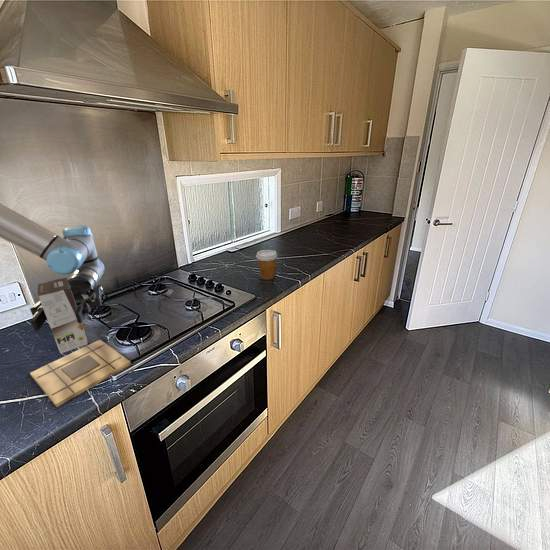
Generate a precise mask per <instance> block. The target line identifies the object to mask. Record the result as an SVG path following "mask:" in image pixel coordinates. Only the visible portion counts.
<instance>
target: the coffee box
mask: <svg viewBox="0 0 550 550" xmlns="http://www.w3.org/2000/svg"><path fill="white" fill-rule="evenodd" d="M37 297H38V299H39V301H40V302H41V304H42V307H43V310H44V312H45V315H46V318H47V320H46V321H47V322H48V325H49V328H50V330H51V333H52V336H53V338H54V341H55V344H56V346H57V350H58V352H59V354H64V353H66V352H70V351H72V350H75V349H78V348H82V347H85V346H87V345H89V342H88V337H87V335H86V331H85V327H84V324H83V322H82V323H78V321H77V318H76V316H75V313H76V311H77V309H78V308H79V307H78V306H77V303H76V300H75V299H74V296H73V293H72V291H71V288H70V285H69V282H68V277H63V278H58V279H54V280H49V281H46V282H42V283H38V284H37Z"/></svg>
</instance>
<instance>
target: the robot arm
mask: <svg viewBox="0 0 550 550" xmlns="http://www.w3.org/2000/svg"><path fill="white" fill-rule="evenodd" d="M0 239H2V240H4V241H6V242H8V243H9V244H10V243H11V244H12V245H14V246H17V247H18V248H21V249H22V250H24V251H26V252H28V253H31V254H32V255H34V256H36V257H38V258H40V259H42V260H43V261H45V262H46V265H47V267H49V269H50V270H51V271H52V272H54V273H55V274H59V275H70V274H71V275H70V276H69V277H68V278H67V280H68V282H69V285H70V288H71V291H72V293H73V296H74V299H75V301H81V302H80V304H79V306H78V307H77V308H78V309H77V311H76V313H75V316H76V318H77V321H78V323H82V324H83V321H84V319H85V317H86V315H87V314H90V313H91V311H92V310H93V309H94V307H96V308H100V307H102V295H104V294H105V293H104V292H105V291H104V290H103V289H104V288H103V286H102V284H99V282H100V280H101V279H103V276H104V273H105V265H104V263H103V262H102V261H101V260H100V258H99V255H98V251H97V247H96V244H95V240H94V235H93V233H92V230H91V228H90V226H88V225H72V226H67V227H65V228H63V229H62V236H60V235H58V234H57V233H55V232H53V231H51V230H49V229H47V228H46V227H44V226H42V225H41V224H38V223H37V222H36V221H35V222H34V221H33V220H31V219H29V218H28V217H26V216H24V215H23V214H20V213H18V212H16V210H13V209H11V208H9V207H8V206H6V205H4V204H2V203H0ZM92 295H93V299H92V298H91V296H92ZM29 310H30V313H31V315H32V319H31V320H30V323H31V325H32V327H33V329H34V331H35V332H36V331H37V332H38V331H40V329H41V328H42V326H43V325H44V324H45V322H46V321H48V320H47V318H46V315H45V312H44V310H43V307H42V304H41V302H40V300H38V301H37V302H36V303H34V305H32V306H31V307H30V308H29Z"/></svg>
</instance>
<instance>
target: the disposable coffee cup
mask: <svg viewBox="0 0 550 550" xmlns="http://www.w3.org/2000/svg"><path fill="white" fill-rule="evenodd" d="M278 256H279V255H278V253H277V251H276V250H272V249H262V250H259V251H257V252H256V255H255V258H256V259H257V264H258V270H259V276H260V278H261V279H262V280H272V279H274V278H275V276H276V268H277V258H278Z"/></svg>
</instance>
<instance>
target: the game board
mask: <svg viewBox="0 0 550 550" xmlns="http://www.w3.org/2000/svg"><path fill="white" fill-rule="evenodd" d="M130 365H132V362H131V360H129V359H128V358H126V357H125V356H123V354H121V353H119V352H118V351H117V350H115V349H114V348H112V346H109V344H108V343H106V342H104V341H103V340H101V339H98V340H96V341H94V342H91V343H90V344H89V343H88V344H87V345H84V346H82V347H80V348H79V349H77V350H74V351H73V352H70V353H69V354H66V355H64V356H62V357H60V358H58V359H56V360H54V361H52V362H49V363H48V364H45V365H44V366H41V367H39V368H37V369H35V370H33V371H31V372H29V375H30V376H31V378H32V379H33V380H34V382H35V383H36V384H37V385H38V387H40V389H41V390H42V391H43V392H44V394H45V395H46V396H47V397H48V398H49V400H50V401H51V402H52V403H53V405H54V406H55V407H56V408H58V407H60V406H61V405H63V404H65V403H67V402H69V401H70V400H71V399H74V398H75V397H77V396H78V395H80V394H82V393H84V392H85V391H87V390H89V389H91V388H93V387H94V386H96V385H97V384H100V383H101V382H103V381H104V380H106V379H108V378H110V377H111V376H113V375H115V374H117V373H119V372H120V371H122V370H124V369H125V368H127V367H129V366H130Z"/></svg>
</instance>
